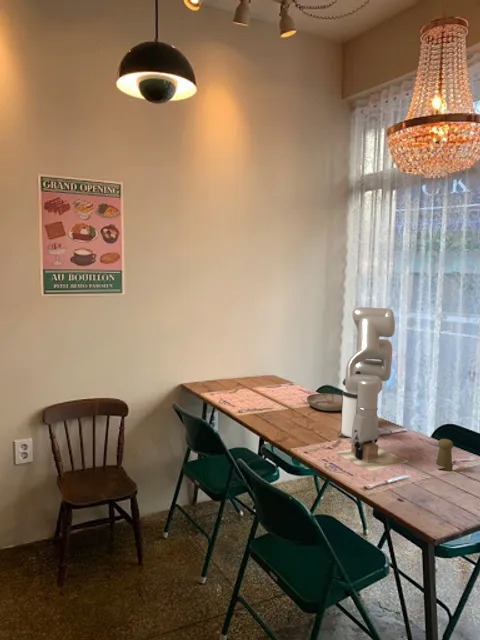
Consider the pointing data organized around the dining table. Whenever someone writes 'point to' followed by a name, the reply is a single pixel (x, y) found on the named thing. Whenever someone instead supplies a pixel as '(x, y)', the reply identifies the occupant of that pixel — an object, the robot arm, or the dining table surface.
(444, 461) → the cork
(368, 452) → the block
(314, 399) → the ceramic bowl
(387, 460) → the birch board
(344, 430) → the coffee press
